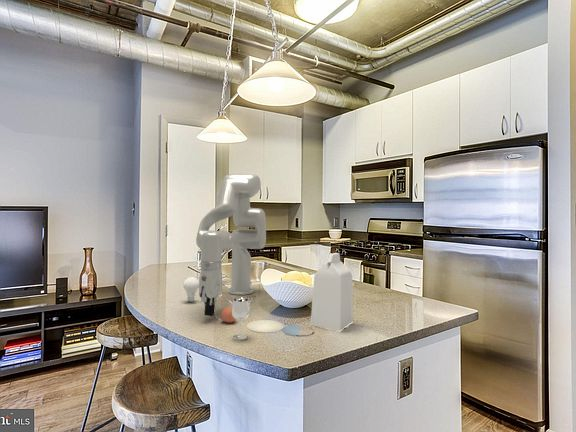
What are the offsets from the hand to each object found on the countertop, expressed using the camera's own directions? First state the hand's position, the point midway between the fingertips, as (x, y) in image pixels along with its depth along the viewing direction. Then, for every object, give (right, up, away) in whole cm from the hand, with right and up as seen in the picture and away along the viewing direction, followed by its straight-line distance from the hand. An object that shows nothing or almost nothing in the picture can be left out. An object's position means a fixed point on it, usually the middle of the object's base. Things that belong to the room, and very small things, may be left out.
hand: (209, 314), depth 127 cm
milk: (+45, -3, -2) cm, 45 cm away
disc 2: (+33, -3, -9) cm, 34 cm away
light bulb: (-13, -1, +22) cm, 26 cm away
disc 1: (+21, -2, -6) cm, 22 cm away
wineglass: (+14, -2, -17) cm, 22 cm away
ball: (+8, +1, -3) cm, 8 cm away
